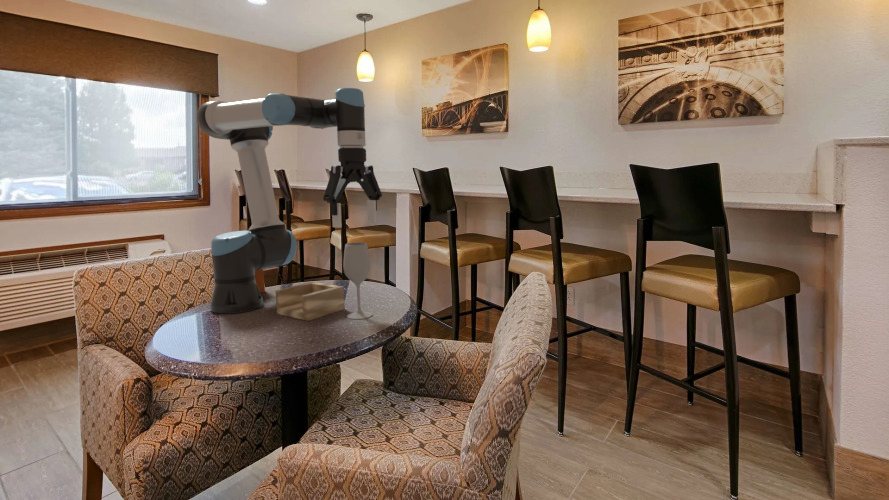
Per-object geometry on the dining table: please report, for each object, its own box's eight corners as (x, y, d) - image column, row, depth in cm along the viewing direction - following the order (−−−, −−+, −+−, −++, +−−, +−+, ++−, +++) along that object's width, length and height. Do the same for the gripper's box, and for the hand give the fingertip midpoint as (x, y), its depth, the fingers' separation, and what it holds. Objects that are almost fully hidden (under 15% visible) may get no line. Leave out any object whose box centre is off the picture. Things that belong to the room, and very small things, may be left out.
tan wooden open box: (276, 313, 148) (275, 290, 147) (313, 303, 160) (312, 281, 159) (308, 320, 140) (306, 296, 139) (344, 309, 152) (343, 286, 151)
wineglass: (367, 320, 140) (364, 245, 137) (341, 319, 141) (337, 245, 138) (376, 312, 147) (373, 242, 144) (352, 311, 149) (348, 241, 146)
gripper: (326, 145, 125) (330, 230, 128) (392, 148, 145) (394, 221, 148) (306, 146, 129) (311, 228, 132) (373, 149, 149) (375, 220, 152)
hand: (355, 225), depth 140 cm, fingers open, 13 cm apart
